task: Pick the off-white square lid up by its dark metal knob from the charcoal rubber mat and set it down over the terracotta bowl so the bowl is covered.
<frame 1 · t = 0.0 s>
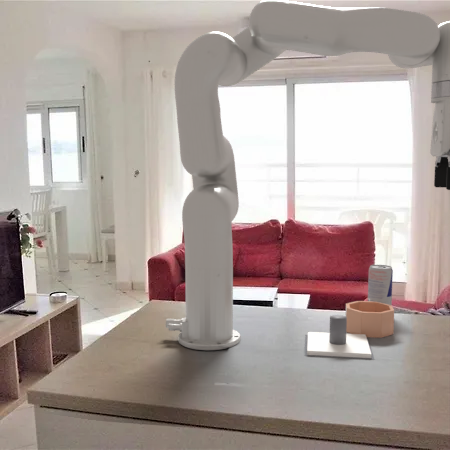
hand: (449, 188, 102), 31 cm above the kitchen counter, tool pointing down, fingers open, 9 cm apart
lid: (337, 346, 108), resting on mat
mat: (337, 348, 108), on the kitchen counter
bowl: (368, 332, 118), on the kitchen counter
energy drink: (379, 318, 129), on the kitchen counter
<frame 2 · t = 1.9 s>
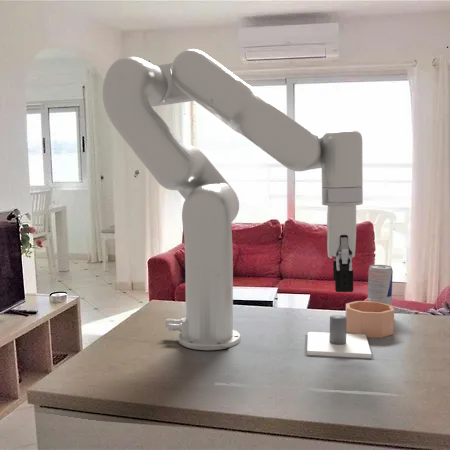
hand: (342, 285, 106), 12 cm above the kitchen counter, tool pointing down, fingers open, 9 cm apart
nothing on the kitchen counter moved.
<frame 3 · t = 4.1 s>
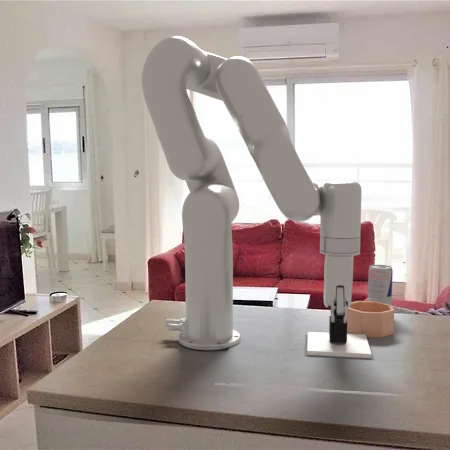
hand: (337, 338, 108), 2 cm above the kitchen counter, tool pointing down, fingers closed on lid, 3 cm apart
lid: (337, 346, 108), resting on mat, touching gripper
everything else where it was.
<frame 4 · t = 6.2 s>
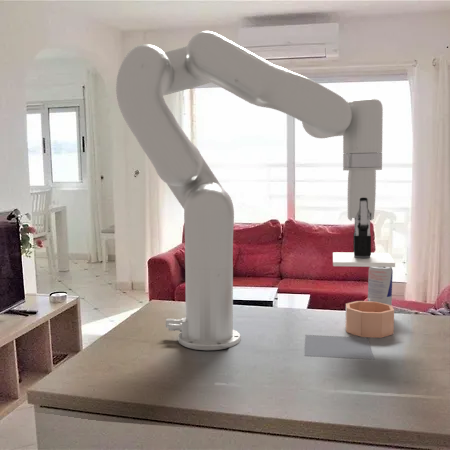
hand: (361, 253, 112), 18 cm above the kitchen counter, tool pointing down, fingers closed on lid, 3 cm apart
lid: (362, 261, 112), point 16 cm above the kitchen counter, touching gripper
everything else where it was.
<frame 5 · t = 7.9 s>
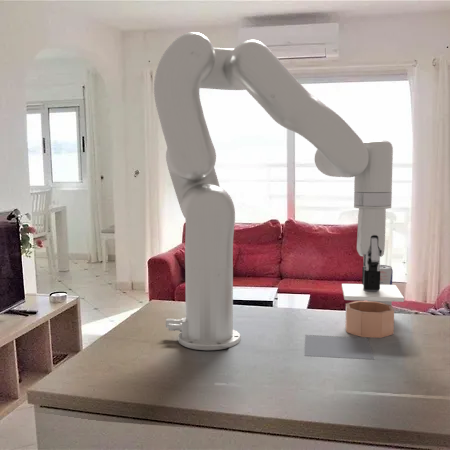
hand: (370, 286, 117), 10 cm above the kitchen counter, tool pointing down, fingers closed on lid, 3 cm apart
lid: (371, 294, 117), point 8 cm above the kitchen counter, touching gripper
everything else where it was.
when the fingers open (9 cm above the kitchen counter, at t = 8.8 s): lid drops 1 cm, resting on bowl.
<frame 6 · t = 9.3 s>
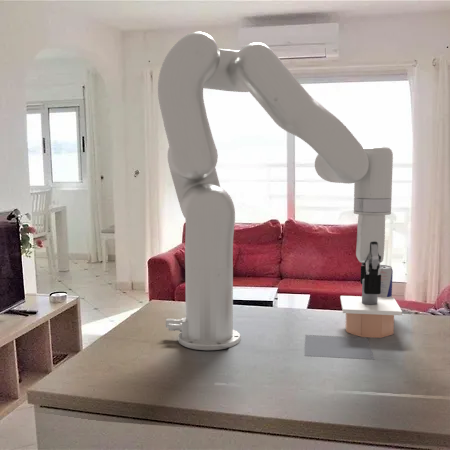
hand: (370, 288, 117), 9 cm above the kitchen counter, tool pointing down, fingers open, 8 cm apart
lid: (369, 306, 117), point 5 cm above the kitchen counter, touching bowl
everything else where it was.
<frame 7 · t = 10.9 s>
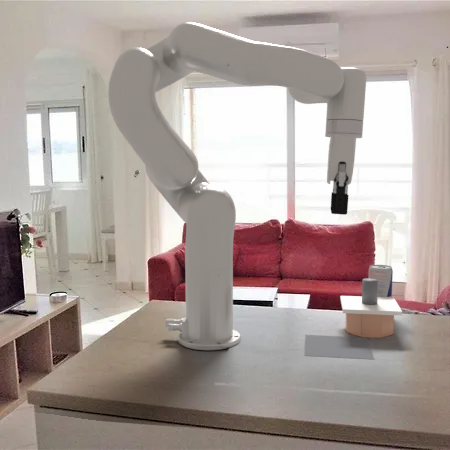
hand: (338, 212, 116), 26 cm above the kitchen counter, tool pointing down, fingers open, 9 cm apart
nothing on the kitchen counter moved.
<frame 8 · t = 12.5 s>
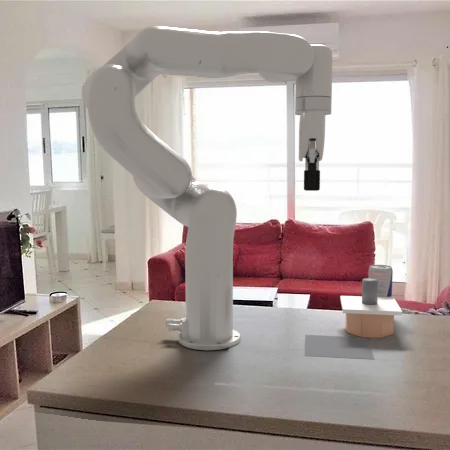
hand: (311, 189, 118), 30 cm above the kitchen counter, tool pointing down, fingers open, 9 cm apart
nothing on the kitchen counter moved.
at the end: lid 0.0 cm off-centre on the bowl, point 5.5 cm above the bowl's base; lid tilted 0°; the gripper is holding nothing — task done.
